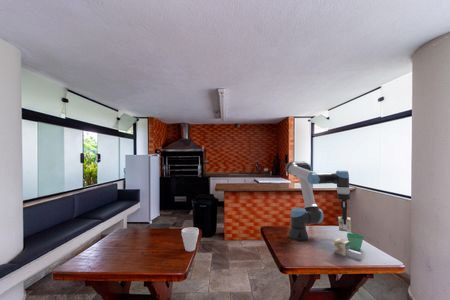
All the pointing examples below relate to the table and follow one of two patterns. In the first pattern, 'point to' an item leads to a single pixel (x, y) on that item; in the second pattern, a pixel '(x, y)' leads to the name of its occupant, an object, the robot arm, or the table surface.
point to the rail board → (353, 255)
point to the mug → (355, 240)
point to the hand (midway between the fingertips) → (345, 227)
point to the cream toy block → (341, 246)
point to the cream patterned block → (342, 224)
